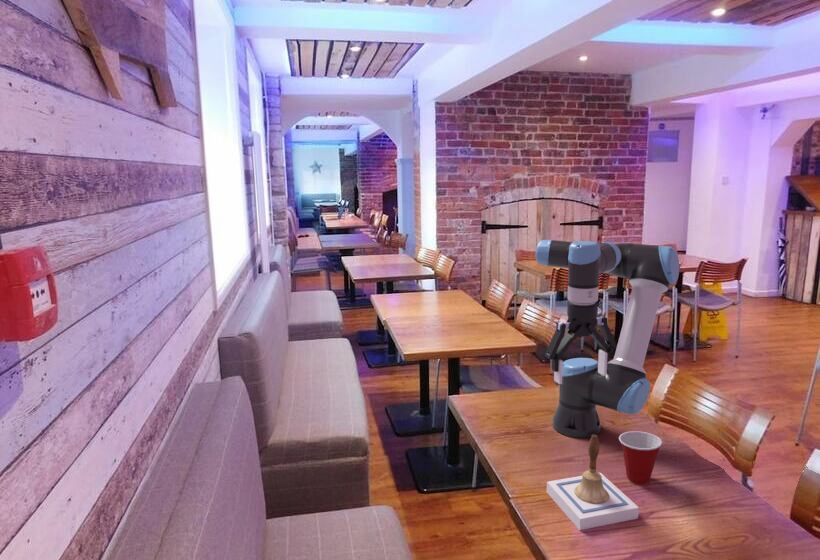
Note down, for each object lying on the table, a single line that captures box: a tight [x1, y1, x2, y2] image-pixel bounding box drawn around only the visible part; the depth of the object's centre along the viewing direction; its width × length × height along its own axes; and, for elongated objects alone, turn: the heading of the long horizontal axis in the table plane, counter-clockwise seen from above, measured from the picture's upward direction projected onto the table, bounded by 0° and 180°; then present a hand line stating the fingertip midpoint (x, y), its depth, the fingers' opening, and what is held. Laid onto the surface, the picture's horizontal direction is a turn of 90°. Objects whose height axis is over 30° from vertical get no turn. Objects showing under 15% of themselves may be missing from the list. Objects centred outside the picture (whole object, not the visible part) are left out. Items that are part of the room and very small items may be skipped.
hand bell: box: [574, 435, 609, 503], centre depth 134 cm, size 8×8×16 cm
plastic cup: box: [618, 430, 663, 485], centre depth 146 cm, size 11×11×12 cm
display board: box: [546, 472, 640, 531], centre depth 136 cm, size 16×16×3 cm
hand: (580, 378), depth 143 cm, fingers open, 13 cm apart
